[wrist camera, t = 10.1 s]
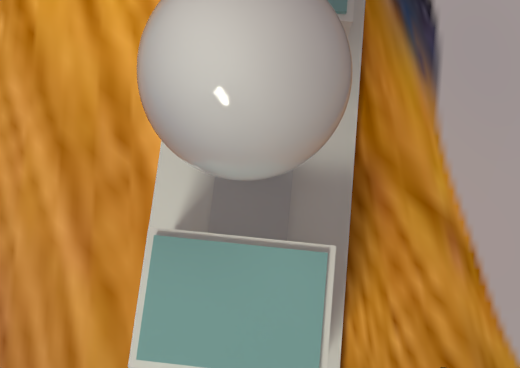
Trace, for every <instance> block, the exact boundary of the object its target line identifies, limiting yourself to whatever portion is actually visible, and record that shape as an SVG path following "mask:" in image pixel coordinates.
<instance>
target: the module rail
mask: <svg viewBox="0 0 520 368" xmlns="http://www.w3.org/2000/svg"><path fill="white" fill-rule="evenodd" d="M328 2H329V3H330V4H331V6H332V7H333V9H334V10H335V12H336V13H337V15H338V17H339V19H340V21H341V23H342V25H343V27H344V30H345V33H346V35H347V39H348V42H349V46H350V51H351V58H352V85H351V92H350V97H349V101H348V104H347V107H346V110H345V112H344V115H343V117H342V119H341V121H340V123H339V125H338V127H337V129H336V130H335V132H334V133H333V135H332V136H331V138H330V139H329V140H328V141H327V143H326V144H325V145H324V146H323V147H322V148H321V149H320V150H319V151H318V152H317V153H316V154H315V155H314V156H313V157H311V158H310V159H309V160H307V161H306V162H305V163H303V164H301V165H300V166H298V167H296V168H295V169H293V170H291V171H288V172H286V173H284V174H281V175H278V176H275V177H271V178H267V179H262V180H253V181H237V180H229V179H223V178H219V177H215V176H212V175H209V174H207V173H204V172H202V171H200V170H198V169H196V168H194V167H192V166H190V165H189V164H187V163H186V162H184V161H183V160H181V159H180V158H179V157H178V156H176V155H175V154H174V153H173V152H172V151H171V150H170V149H169V148H168V147H167V146H166V145H165V144H164V143H163V141H161V148H160V155H159V162H158V168H157V175H156V182H155V189H154V196H153V202H152V209H151V216H150V223H149V227H148V234H147V240H146V247H145V254H144V261H143V268H142V274H141V281H140V288H139V295H138V302H137V308H136V315H135V322H134V329H133V336H132V342H131V349H130V356H129V363H128V368H340V359H341V344H342V330H343V315H344V301H345V287H346V272H347V258H348V244H349V229H350V215H351V200H352V186H353V172H354V157H355V143H356V128H357V114H358V100H359V85H360V71H361V57H362V42H363V28H364V13H365V0H328Z"/></svg>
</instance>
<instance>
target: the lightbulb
mask: <svg viewBox="0 0 520 368" xmlns="http://www.w3.org/2000/svg"><path fill="white" fill-rule="evenodd" d="M137 83H138V89H139V95H140V99H141V102H142V105H143V108H144V111H145V113H146V116H147V118H148V120H149V122H150V124H151V125H152V127H153V129H154V130H155V132H156V134H157V135H158V136H159V138H160V139H161V140H162V141H163V143H164V144H165V145H166V146H167V147H168V148H169V149H170V150H171V151H172V152H173V153H174V154H175V155H176V156H178V157H179V158H180V159H181V160H183V161H184V162H186V163H187V164H189V165H190V166H192V167H194V168H196V169H198V170H200V171H202V172H204V173H207V174H209V175H212V176H215V177H219V178H223V179H229V180H237V181H253V180H262V179H267V178H271V177H275V176H278V175H281V174H284V173H286V172H288V171H291V170H293V169H295V168H296V167H298V166H300V165H301V164H303V163H305V162H306V161H307V160H309V159H310V158H311V157H313V156H314V155H315V154H316V153H317V152H318V151H319V150H320V149H321V148H322V147H323V146H324V145H325V144H326V143H327V141H328V140H329V139H330V138H331V136H332V135H333V133H334V132H335V130H336V129H337V127H338V125H339V123H340V121H341V119H342V117H343V115H344V112H345V110H346V107H347V104H348V101H349V97H350V92H351V85H352V58H351V51H350V46H349V42H348V39H347V35H346V33H345V30H344V27H343V25H342V23H341V21H340V19H339V17H338V15H337V13H336V12H335V10H334V9H333V7H332V6H331V4H330V3H329V2H328V0H160V2H159V3H158V4H157V6H156V7H155V9H154V10H153V12H152V14H151V15H150V17H149V19H148V21H147V23H146V26H145V28H144V31H143V33H142V36H141V40H140V44H139V49H138V56H137Z"/></svg>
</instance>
